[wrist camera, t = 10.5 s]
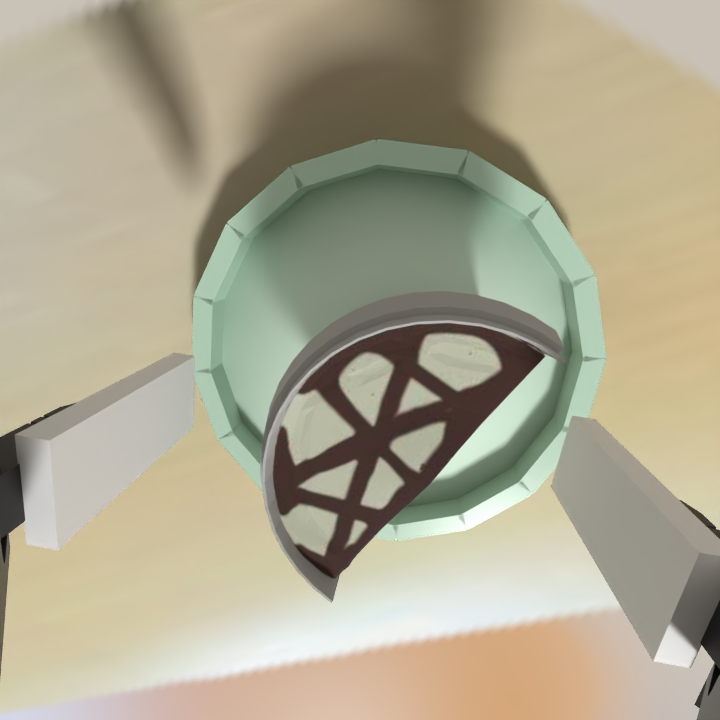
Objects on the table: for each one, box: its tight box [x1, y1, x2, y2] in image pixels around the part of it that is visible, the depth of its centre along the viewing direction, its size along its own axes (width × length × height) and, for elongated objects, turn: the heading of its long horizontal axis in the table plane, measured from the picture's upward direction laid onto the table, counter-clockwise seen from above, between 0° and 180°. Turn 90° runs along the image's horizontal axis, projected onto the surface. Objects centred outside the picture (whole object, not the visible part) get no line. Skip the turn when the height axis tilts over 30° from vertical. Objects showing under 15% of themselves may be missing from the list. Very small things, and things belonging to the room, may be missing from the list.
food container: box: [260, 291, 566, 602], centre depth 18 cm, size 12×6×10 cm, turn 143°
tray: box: [192, 139, 606, 541], centre depth 23 cm, size 20×20×2 cm
